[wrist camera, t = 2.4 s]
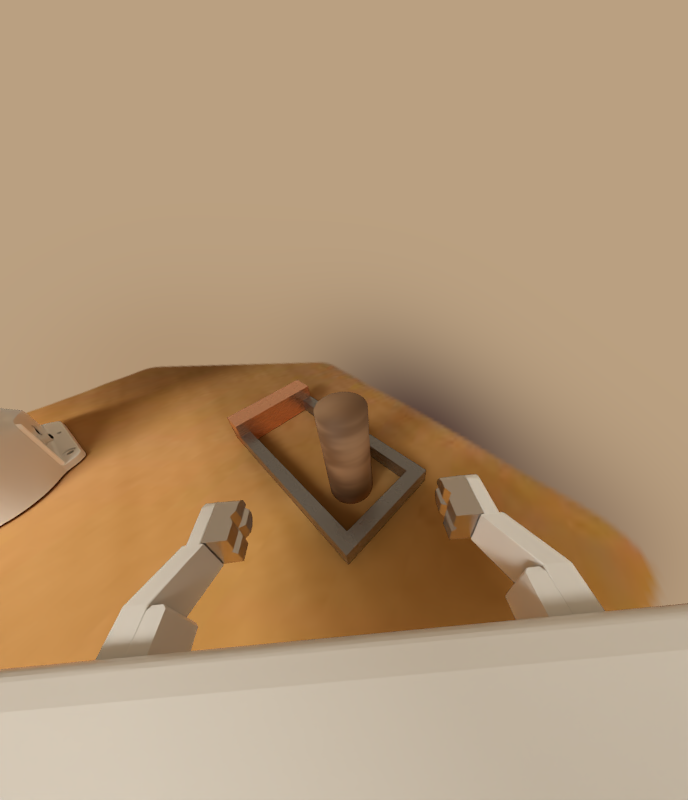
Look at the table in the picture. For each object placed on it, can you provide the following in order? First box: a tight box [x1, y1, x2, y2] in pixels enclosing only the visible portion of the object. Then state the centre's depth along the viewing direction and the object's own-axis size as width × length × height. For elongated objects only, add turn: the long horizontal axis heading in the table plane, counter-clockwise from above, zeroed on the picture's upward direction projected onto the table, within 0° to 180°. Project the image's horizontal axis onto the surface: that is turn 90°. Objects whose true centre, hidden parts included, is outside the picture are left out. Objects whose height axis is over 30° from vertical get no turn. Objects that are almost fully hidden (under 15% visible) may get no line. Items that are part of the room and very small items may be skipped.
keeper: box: [314, 392, 372, 504], centre depth 27 cm, size 5×5×12 cm
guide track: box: [227, 380, 426, 564], centre depth 34 cm, size 25×12×4 cm, turn 43°
